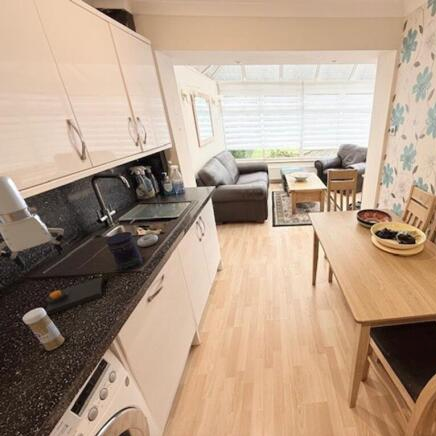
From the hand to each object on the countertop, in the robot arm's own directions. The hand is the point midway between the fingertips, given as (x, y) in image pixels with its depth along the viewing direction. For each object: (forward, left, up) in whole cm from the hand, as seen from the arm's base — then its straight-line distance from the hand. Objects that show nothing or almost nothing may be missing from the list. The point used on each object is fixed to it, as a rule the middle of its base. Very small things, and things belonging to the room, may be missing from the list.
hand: (43, 259), depth 84 cm
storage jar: (+21, +13, -20) cm, 31 cm away
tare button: (-3, +1, -16) cm, 17 cm away
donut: (+29, +31, -20) cm, 47 cm away
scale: (+3, +1, -20) cm, 20 cm away
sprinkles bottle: (+1, -23, -20) cm, 30 cm away
